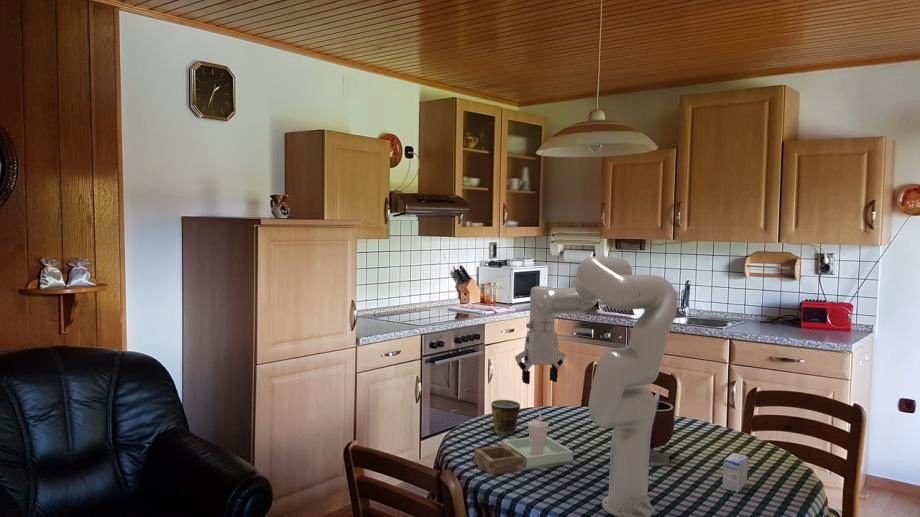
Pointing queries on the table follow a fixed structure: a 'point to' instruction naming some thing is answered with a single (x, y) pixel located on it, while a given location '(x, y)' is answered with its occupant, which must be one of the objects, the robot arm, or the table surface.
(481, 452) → the socket block
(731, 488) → the medicine box
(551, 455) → the tray
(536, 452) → the smoothie
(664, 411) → the mate gourd
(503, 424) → the ceramic cup
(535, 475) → the table surface
